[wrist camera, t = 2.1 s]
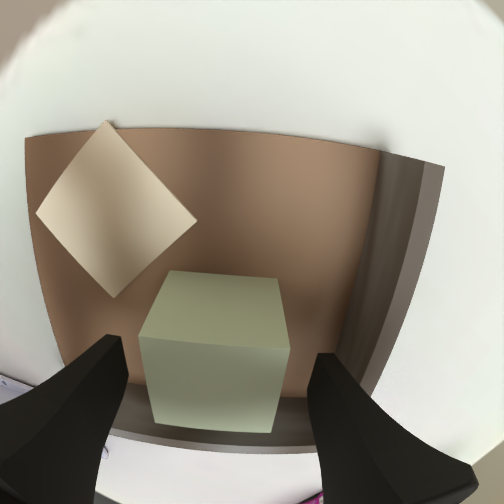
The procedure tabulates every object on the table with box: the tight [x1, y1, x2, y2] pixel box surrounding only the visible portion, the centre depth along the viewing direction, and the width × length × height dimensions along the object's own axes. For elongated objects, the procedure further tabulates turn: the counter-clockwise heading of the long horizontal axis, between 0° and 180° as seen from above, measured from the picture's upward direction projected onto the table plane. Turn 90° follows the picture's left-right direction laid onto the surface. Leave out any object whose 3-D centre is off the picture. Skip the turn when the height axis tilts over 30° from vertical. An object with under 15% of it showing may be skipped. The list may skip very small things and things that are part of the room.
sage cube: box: [138, 270, 290, 433], centre depth 11 cm, size 4×4×4 cm
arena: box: [25, 120, 445, 454], centre depth 12 cm, size 16×14×4 cm
